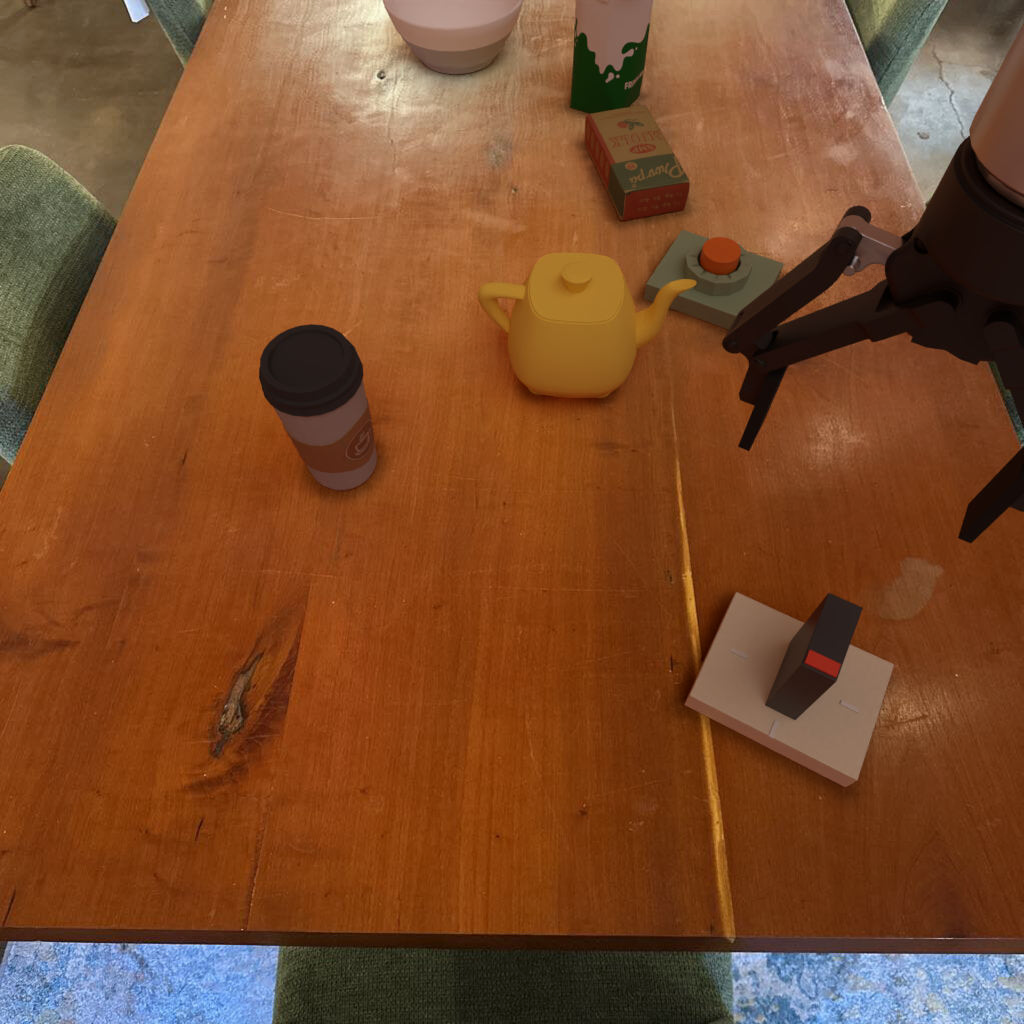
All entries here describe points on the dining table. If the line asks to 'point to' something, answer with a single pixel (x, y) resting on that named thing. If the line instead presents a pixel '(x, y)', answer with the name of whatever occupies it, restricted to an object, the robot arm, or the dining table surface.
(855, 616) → the dark grey rectangular block
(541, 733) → the dining table surface
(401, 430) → the dining table surface
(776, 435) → the dining table surface
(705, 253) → the button
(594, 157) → the carton
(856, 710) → the panel
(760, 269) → the housing
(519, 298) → the teapot
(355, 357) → the coffee cup
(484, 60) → the bowl
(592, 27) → the milk carton
